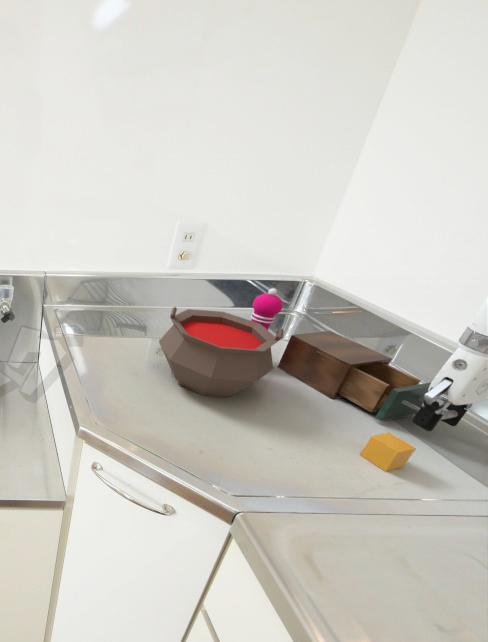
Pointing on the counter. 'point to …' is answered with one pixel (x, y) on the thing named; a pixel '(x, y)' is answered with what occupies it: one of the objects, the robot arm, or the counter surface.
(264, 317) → the pepper mill
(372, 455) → the block
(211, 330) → the brown cooking pot
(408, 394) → the drawer
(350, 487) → the counter surface
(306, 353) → the cabinet
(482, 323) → the robot arm
